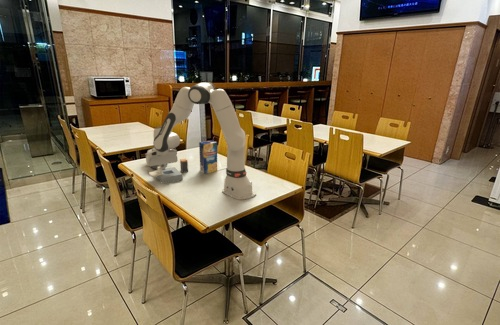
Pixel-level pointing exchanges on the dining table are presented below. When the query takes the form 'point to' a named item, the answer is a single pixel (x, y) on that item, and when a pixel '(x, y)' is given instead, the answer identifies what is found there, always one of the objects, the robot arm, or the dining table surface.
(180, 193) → the dining table surface
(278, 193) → the dining table surface
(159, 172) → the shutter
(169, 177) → the socket
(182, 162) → the plug
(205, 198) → the dining table surface
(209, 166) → the blue cracker box
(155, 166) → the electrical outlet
